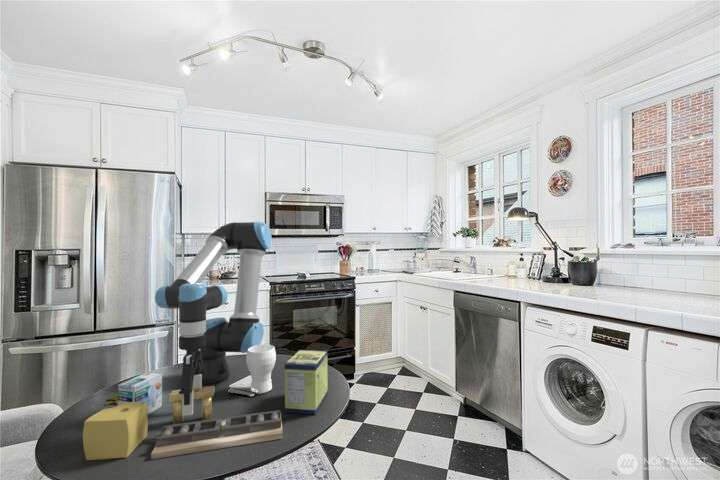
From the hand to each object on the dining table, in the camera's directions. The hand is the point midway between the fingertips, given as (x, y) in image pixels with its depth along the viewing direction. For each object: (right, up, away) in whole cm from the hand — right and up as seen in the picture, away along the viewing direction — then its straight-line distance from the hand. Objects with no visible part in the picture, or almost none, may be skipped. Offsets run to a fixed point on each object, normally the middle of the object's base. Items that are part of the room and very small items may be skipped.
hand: (192, 404), depth 102 cm
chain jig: (+13, -4, -9) cm, 16 cm away
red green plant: (-31, -6, +15) cm, 35 cm away
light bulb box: (-19, -5, +5) cm, 20 cm away
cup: (+15, -5, +22) cm, 27 cm away
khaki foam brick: (0, -5, 0) cm, 5 cm away
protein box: (+34, -5, +11) cm, 36 cm away
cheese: (-13, -5, -14) cm, 19 cm away
